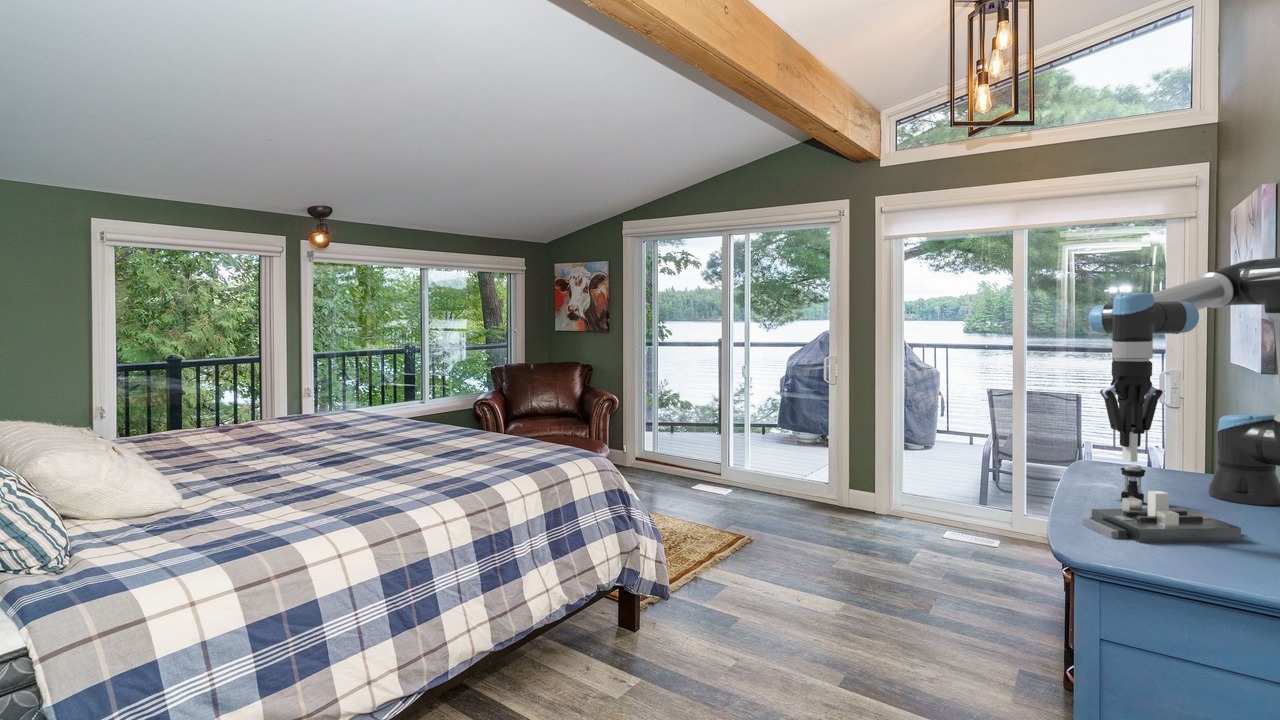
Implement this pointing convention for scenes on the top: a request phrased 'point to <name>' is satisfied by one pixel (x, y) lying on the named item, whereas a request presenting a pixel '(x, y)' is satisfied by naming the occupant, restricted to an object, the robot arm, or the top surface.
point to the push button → (1132, 482)
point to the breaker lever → (1157, 502)
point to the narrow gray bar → (1105, 528)
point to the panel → (1172, 532)
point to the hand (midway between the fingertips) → (1129, 460)
